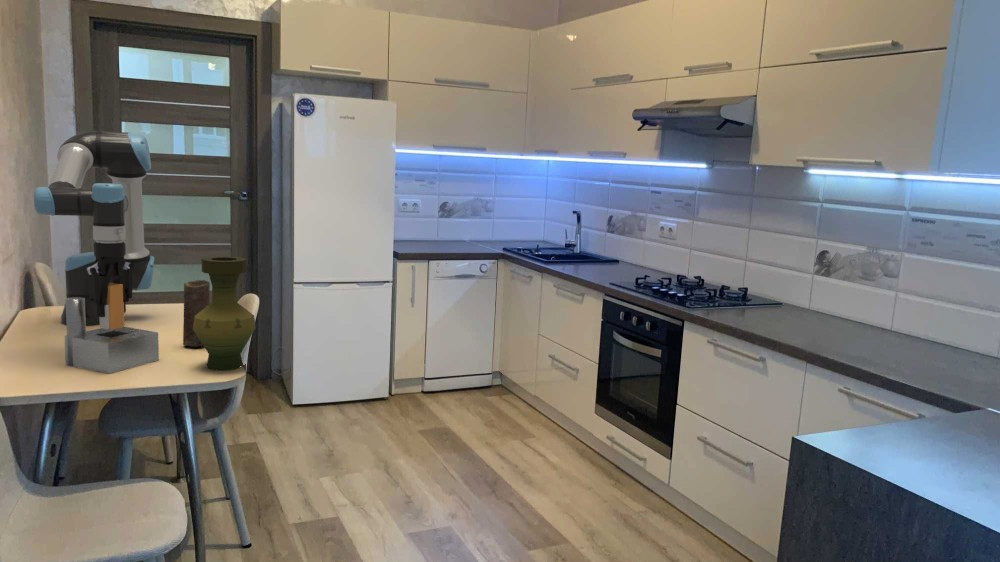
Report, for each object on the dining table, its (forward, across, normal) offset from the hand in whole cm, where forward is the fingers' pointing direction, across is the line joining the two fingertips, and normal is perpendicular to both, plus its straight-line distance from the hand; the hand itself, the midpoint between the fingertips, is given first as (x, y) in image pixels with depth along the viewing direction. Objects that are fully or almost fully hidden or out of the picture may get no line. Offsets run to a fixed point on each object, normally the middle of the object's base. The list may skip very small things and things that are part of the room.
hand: (112, 326), depth 195 cm
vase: (+10, +13, -27) cm, 32 cm away
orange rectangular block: (0, 0, 0) cm, 0 cm away
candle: (+10, +25, -5) cm, 28 cm away
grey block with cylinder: (+10, 0, 0) cm, 10 cm away
